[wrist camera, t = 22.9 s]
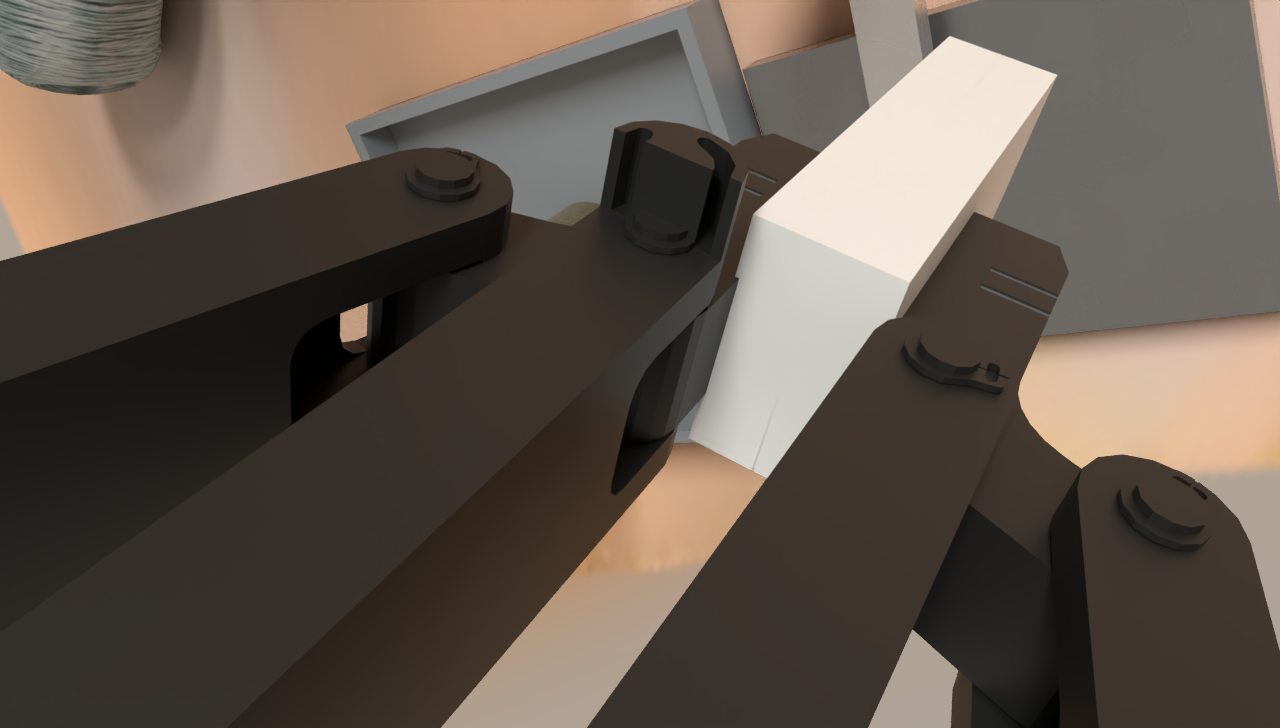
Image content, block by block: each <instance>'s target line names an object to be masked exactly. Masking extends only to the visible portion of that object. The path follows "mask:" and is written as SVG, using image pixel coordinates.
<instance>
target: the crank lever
mask: <svg viewBox="0 0 1280 728" xmlns="http://www.w3.org/2000/svg"><path fill="white" fill-rule="evenodd" d="M849 2H850V8H851V13H852V18H853V23H854V28H855V34H856V39H857V44H858V49H859V55H860V60H861V65H862V70H863V75H864V81H865V86H866V91H867V96H868V102H869V107H870V108H871V107H872V106H873V105H874V104H875V103H876V102H877V101H878V100H880V99H881V98H882V97H883V96H884V95H885V94H886V93H887V92H888V91H889V90H891V89H892V88H893V87H894V86H895V85H896V84H897V83H898V82H899V81H900V80H902V79H903V78H904V77H905V76H906V75H907V74H908V73H909V72H910V71H912V70H913V69H914V68H915V67H916V66H917V65H918V64H919V63H920V62H921V61H923V60H924V59H925V58H926V57H927V56H928V55H929V54H930V53H931V52H932V51H934V50H933V44H932V38H931V32H930V26H929V20H928V14H927V8H926V2H925V0H849Z"/></svg>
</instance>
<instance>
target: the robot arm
mask: <svg viewBox="0 0 1280 728" xmlns="http://www.w3.org/2000/svg"><path fill="white" fill-rule="evenodd" d="M1056 77H1057V75H1056V74H1053V73H1051V72H1048V71H1045V70H1042V69H1040V68H1037V67H1034V66H1031V65H1028V64H1026V63H1023V62H1020V61H1017V60H1015V59H1012V58H1009V57H1006V56H1004V55H1001V54H998V53H995V52H992V51H990V50H987V49H984V48H981V47H979V46H976V45H973V44H970V43H968V42H965V41H962V40H959V39H957V38H954V37H951V36H949V37H948V38H947V39H946V40H945V41H944V42H942V43H941V44H940V45H939V46H938V47H937V48H936V49H935V50H934V51H932V52H931V53H930V54H929V55H928V56H927V57H926V58H925V59H924V60H923V61H921V62H920V63H919V64H918V65H917V66H916V67H915V68H914V69H913V70H912V71H910V72H909V73H908V74H907V75H906V76H905V77H904V78H903V79H902V80H900V81H899V82H898V83H897V84H896V85H895V86H894V87H893V88H892V89H891V90H889V91H888V92H887V93H886V94H885V95H884V96H883V97H882V98H881V99H880V100H878V101H877V102H876V103H875V104H874V105H873V106H872V107H871V108H870V109H868V110H867V111H866V112H865V113H864V114H863V115H862V116H861V117H860V118H859V119H857V120H856V121H855V122H854V123H853V124H852V125H851V126H850V127H849V128H848V129H846V130H845V131H844V132H843V133H842V134H841V135H840V136H839V137H838V138H836V139H835V140H834V141H833V142H832V143H831V144H830V145H829V146H828V147H827V148H825V149H824V150H823V151H822V152H818V151H816V150H814V149H811V148H809V147H806V146H804V145H801V144H799V143H796V142H794V141H792V140H789V139H787V138H784V137H782V136H779V135H777V134H775V133H773V134H769V135H764V136H760V137H755V138H750V139H746V140H741V141H740V142H739V143H737V144H736V145H735V146H732V145H731V144H730V143H728V142H726V141H725V140H723V139H721V138H719V137H717V136H715V135H713V134H712V133H710V132H707V131H704V130H701V129H698V128H694V127H691V126H688V125H685V124H680V123H672V122H665V121H658V120H653V121H636V122H630V123H627V124H624V125H622V126H619V127H616V128H614V132H613V138H612V143H611V149H610V154H609V159H608V165H607V170H606V176H605V181H604V186H603V192H602V197H601V203H600V206H599V207H598V208H596V209H595V210H594V211H592V212H591V213H589V214H588V215H587V216H585V217H584V218H582V219H581V220H580V221H578V222H577V223H575V224H574V225H573V226H569V225H564V224H558V223H553V222H549V221H545V220H541V219H537V218H533V217H529V216H525V215H521V214H517V213H513V212H511V208H512V200H513V193H514V191H513V187H512V183H511V180H510V177H509V176H508V175H507V174H506V173H505V172H503V171H502V170H501V169H500V168H499V167H498V166H497V165H496V164H494V163H492V162H489V161H487V160H485V159H483V158H481V157H479V156H477V155H476V154H473V153H470V152H467V151H464V152H462V151H461V150H460V149H455V148H450V147H445V148H427V147H424V148H417V149H411V150H404V151H399V152H395V153H391V154H388V155H384V156H381V157H377V158H373V159H370V160H366V161H362V162H359V163H355V164H351V165H348V166H344V167H341V168H337V169H333V170H330V171H326V172H322V173H319V174H315V175H312V176H308V177H304V178H301V179H297V180H293V181H290V182H286V183H282V184H279V185H275V186H272V187H268V188H264V189H261V190H257V191H253V192H250V193H246V194H243V195H239V196H235V197H232V198H228V199H224V200H221V201H217V202H213V203H210V204H206V205H203V206H199V207H195V208H192V209H188V210H184V211H181V212H177V213H174V214H170V215H166V216H163V217H159V218H155V219H152V220H148V221H144V222H141V223H137V224H134V225H130V226H126V227H123V228H119V229H115V230H112V231H108V232H105V233H101V234H97V235H94V236H90V237H86V238H83V239H79V240H75V241H72V242H68V243H65V244H61V245H57V246H54V247H50V248H46V249H43V250H39V251H36V252H32V253H28V254H25V255H21V256H17V257H14V258H10V259H6V260H3V261H0V728H441V727H442V725H443V724H444V723H445V722H446V721H447V720H448V718H449V717H450V716H451V715H452V714H453V712H454V711H455V710H456V709H457V708H458V707H459V706H460V704H461V703H462V702H463V701H464V700H465V699H466V697H467V696H468V695H469V694H470V693H471V692H472V690H473V689H474V688H475V687H476V686H477V684H478V683H479V682H480V681H481V680H482V679H483V677H484V676H485V675H486V674H487V672H489V670H490V669H491V668H492V667H493V666H494V664H495V663H496V662H497V661H498V660H499V659H500V658H501V656H502V655H503V654H504V653H505V652H506V650H507V649H508V648H509V647H510V646H511V645H512V643H513V642H514V641H515V640H516V639H517V637H518V636H519V635H520V634H521V633H522V632H523V631H524V629H525V628H526V627H527V626H528V625H529V624H530V622H531V621H532V620H533V619H534V618H535V616H536V615H537V614H538V613H539V612H540V611H541V609H542V608H543V607H544V606H545V605H546V604H547V602H548V601H549V600H550V599H551V598H552V597H553V595H554V594H555V593H556V592H557V591H558V590H559V588H560V587H561V586H562V585H563V584H564V582H565V581H566V580H567V579H568V578H569V577H570V575H571V574H572V573H573V572H574V571H575V570H576V568H577V567H578V566H579V565H580V564H581V563H582V561H583V560H584V559H585V558H586V557H587V556H588V554H589V553H590V552H591V551H592V550H593V549H594V547H595V546H596V545H597V544H598V543H599V542H600V540H601V539H602V538H603V537H604V536H605V534H606V533H607V532H608V531H609V530H610V529H611V527H612V526H613V525H614V524H615V523H616V522H617V520H618V519H619V518H620V517H621V516H622V515H623V513H624V512H625V511H626V510H627V509H628V508H629V506H630V505H631V504H632V503H633V502H634V500H635V499H636V498H637V497H638V496H639V495H640V493H641V492H642V491H643V490H644V489H645V488H646V486H647V485H648V484H649V483H650V482H651V481H652V479H653V478H654V477H655V476H656V475H657V474H658V472H659V471H660V470H661V469H662V468H663V467H664V465H665V463H666V461H667V459H668V457H669V455H670V452H671V450H672V447H673V443H674V439H675V436H676V432H677V429H678V425H679V423H680V422H681V421H682V420H683V419H684V418H685V417H686V415H687V414H688V413H689V412H690V411H691V410H692V409H693V408H694V406H695V405H696V404H697V403H698V402H699V404H698V407H697V411H696V414H695V417H694V421H693V424H692V428H691V431H690V435H689V439H691V440H693V441H695V442H697V443H699V444H701V445H703V446H705V447H707V448H709V449H711V450H713V451H715V452H717V453H718V454H720V455H722V456H724V457H726V458H728V459H730V460H732V461H734V462H736V463H738V464H740V465H742V466H744V467H746V468H748V469H750V470H751V471H753V472H755V473H757V474H759V475H761V476H763V477H765V478H767V479H766V480H765V482H764V483H763V485H762V486H761V487H760V489H759V490H758V492H757V493H756V494H755V496H754V497H753V499H752V500H751V501H750V503H749V504H748V505H747V507H746V508H745V510H744V511H743V512H742V514H741V515H740V517H739V518H738V519H737V521H736V522H735V523H734V525H733V526H732V528H731V529H730V530H729V532H728V533H727V535H726V536H725V537H724V539H723V540H722V541H721V543H720V544H719V546H718V547H717V548H716V550H715V551H714V553H713V554H712V555H711V557H710V558H709V559H708V561H707V562H706V564H705V565H704V566H703V568H702V569H701V571H700V572H699V573H698V575H697V576H696V577H695V579H694V580H693V582H692V583H691V584H690V586H689V587H688V589H687V590H686V591H685V593H684V594H683V595H682V597H681V598H680V600H679V601H678V602H677V604H676V605H675V607H674V608H673V609H672V611H671V612H670V614H669V615H668V616H667V618H666V619H665V621H664V622H663V623H662V625H661V626H660V627H659V629H658V630H657V632H656V633H655V634H654V636H653V637H652V639H651V640H650V641H649V643H648V644H647V646H646V647H645V648H644V650H643V651H642V652H641V654H640V655H639V656H638V658H637V659H636V661H635V662H634V664H633V665H632V666H631V668H630V669H629V670H628V672H627V673H626V675H625V676H624V678H623V679H622V680H621V681H620V683H619V684H618V686H617V687H616V688H615V690H614V691H613V693H612V694H611V695H610V697H609V698H608V699H607V701H606V702H605V704H604V705H603V706H602V708H601V709H600V711H599V712H598V713H597V715H596V716H595V717H594V719H593V720H592V722H591V723H590V724H589V726H588V727H587V728H868V726H869V724H870V722H871V720H872V718H873V715H874V713H875V711H876V709H877V706H878V704H879V702H880V700H881V698H882V695H883V693H884V691H885V688H886V686H887V684H888V682H889V680H890V678H891V675H892V673H893V671H894V669H895V667H896V664H897V662H898V660H899V658H900V655H901V653H902V651H903V649H904V646H905V644H906V642H907V640H908V638H909V635H910V633H911V631H912V629H913V630H914V631H915V632H916V633H918V634H919V635H920V636H921V637H922V638H923V639H924V640H926V642H928V643H929V644H930V645H931V646H932V647H933V648H934V649H935V650H936V651H938V652H939V653H940V654H941V655H942V656H943V657H944V658H945V659H946V660H948V661H949V662H950V663H951V664H952V665H953V666H954V667H955V668H957V669H958V670H959V671H958V674H957V677H956V680H955V683H954V687H953V694H952V717H951V728H1280V650H1279V647H1278V643H1277V640H1276V635H1275V632H1274V628H1273V624H1272V621H1271V617H1270V614H1269V610H1268V606H1267V602H1266V599H1265V595H1264V591H1263V587H1262V584H1261V580H1260V576H1259V573H1258V569H1257V565H1256V561H1255V558H1254V554H1253V551H1252V547H1251V543H1250V541H1249V539H1248V537H1247V535H1246V533H1245V531H1244V529H1243V527H1242V525H1241V524H1240V521H1239V519H1238V518H1237V517H1236V516H1235V515H1234V514H1233V513H1232V512H1231V511H1230V510H1229V509H1228V508H1227V507H1226V505H1225V504H1224V503H1223V502H1222V501H1221V500H1220V499H1219V498H1218V497H1217V496H1216V495H1215V494H1214V493H1212V492H1211V491H1210V490H1208V489H1207V488H1206V487H1204V486H1203V485H1202V484H1200V483H1197V482H1196V481H1195V479H1193V478H1191V477H1189V476H1188V475H1186V474H1184V473H1182V472H1180V471H1178V470H1174V469H1172V468H1170V467H1167V466H1165V465H1163V464H1160V463H1158V462H1156V461H1153V460H1148V459H1143V458H1138V457H1133V456H1128V455H1114V456H1105V457H1098V458H1096V459H1095V460H1093V461H1092V462H1090V463H1089V464H1088V465H1086V466H1085V467H1083V468H1082V469H1081V468H1079V467H1078V466H1077V465H1075V464H1074V463H1072V462H1071V461H1070V460H1068V459H1067V458H1066V457H1064V456H1063V455H1062V454H1060V453H1059V452H1058V451H1057V450H1055V449H1054V448H1053V447H1052V446H1051V445H1049V444H1048V443H1047V442H1046V441H1045V440H1044V439H1043V438H1042V437H1041V436H1040V435H1039V434H1038V433H1037V431H1036V430H1035V429H1034V428H1033V427H1032V426H1031V425H1030V423H1029V421H1028V420H1027V418H1026V416H1025V414H1024V412H1023V411H1022V409H1021V405H1020V401H1019V397H1018V391H1019V385H1020V381H1021V379H1022V376H1023V374H1024V372H1025V370H1026V368H1027V365H1028V363H1029V361H1030V359H1031V356H1032V354H1033V352H1034V350H1035V348H1036V345H1037V343H1038V341H1039V339H1040V336H1041V334H1042V332H1043V330H1044V328H1045V325H1046V323H1047V321H1048V319H1049V316H1050V314H1051V312H1052V310H1053V307H1054V305H1055V303H1056V301H1057V298H1058V296H1059V294H1060V292H1061V290H1062V287H1063V285H1064V283H1065V281H1066V279H1067V276H1068V274H1069V272H1068V269H1067V266H1066V263H1065V261H1064V258H1063V255H1062V252H1061V250H1060V247H1059V246H1057V245H1055V244H1052V243H1050V242H1047V241H1045V240H1042V239H1040V238H1037V237H1035V236H1033V235H1030V234H1028V233H1025V232H1023V231H1020V230H1018V229H1015V228H1013V227H1011V226H1008V225H1006V224H1003V223H1001V222H998V221H996V220H993V217H994V215H995V213H996V210H997V208H998V206H999V204H1000V202H1001V199H1002V197H1003V195H1004V193H1005V190H1006V188H1007V186H1008V184H1009V182H1010V179H1011V177H1012V175H1013V173H1014V170H1015V168H1016V166H1017V164H1018V162H1019V159H1020V157H1021V155H1022V153H1023V150H1024V148H1025V146H1026V144H1027V142H1028V139H1029V137H1030V135H1031V133H1032V130H1033V128H1034V126H1035V124H1036V122H1037V119H1038V117H1039V115H1040V113H1041V110H1042V108H1043V106H1044V104H1045V102H1046V99H1047V97H1048V95H1049V93H1050V90H1051V88H1052V86H1053V84H1054V82H1055V79H1056ZM366 303H368V319H367V336H365V337H363V338H361V339H358V340H356V341H349V342H343V343H342V342H341V338H340V313H343V312H345V311H348V310H351V309H353V308H356V307H359V306H361V305H364V304H366Z"/></svg>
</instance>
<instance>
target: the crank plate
mask: <svg viewBox="0 0 1280 728" xmlns="http://www.w3.org/2000/svg"><path fill="white" fill-rule="evenodd" d="M927 14H928V20H929V26H930V32H931V38H932V44H933V50H935V49H936V48H937V47H938V46H939V45H940V44H941V43H942V42H944V41H945V40H946V39H947V38H948V37H949V36H951V37H954V38H957V39H959V40H962V41H965V42H968V43H970V44H973V45H976V46H979V47H981V48H984V49H987V50H990V51H992V52H995V53H998V54H1001V55H1004V56H1006V57H1009V58H1012V59H1015V60H1017V61H1020V62H1023V63H1026V64H1028V65H1031V66H1034V67H1037V68H1040V69H1042V70H1045V71H1048V72H1051V73H1053V74H1056V75H1057V77H1056V79H1055V82H1054V84H1053V86H1052V88H1051V90H1050V93H1049V95H1048V97H1047V99H1046V102H1045V104H1044V106H1043V108H1042V110H1041V113H1040V115H1039V117H1038V119H1037V122H1036V124H1035V126H1034V128H1033V130H1032V133H1031V135H1030V137H1029V139H1028V142H1027V144H1026V146H1025V148H1024V150H1023V153H1022V155H1021V157H1020V159H1019V162H1018V164H1017V166H1016V168H1015V170H1014V173H1013V175H1012V177H1011V179H1010V182H1009V184H1008V186H1007V188H1006V190H1005V193H1004V195H1003V197H1002V199H1001V202H1000V204H999V206H998V208H997V210H996V213H995V215H994V217H993V220H996V221H998V222H1001V223H1003V224H1006V225H1008V226H1011V227H1013V228H1015V229H1018V230H1020V231H1023V232H1025V233H1028V234H1030V235H1033V236H1035V237H1037V238H1040V239H1042V240H1045V241H1047V242H1050V243H1052V244H1055V245H1057V246H1059V247H1060V250H1061V252H1062V255H1063V258H1064V261H1065V263H1066V266H1067V269H1068V272H1069V274H1068V276H1067V279H1066V281H1065V283H1064V285H1063V287H1062V290H1061V292H1060V294H1059V296H1058V298H1057V301H1056V303H1055V305H1054V307H1053V310H1052V312H1051V314H1050V316H1049V319H1048V321H1047V323H1046V325H1045V328H1044V330H1043V332H1042V334H1041V336H1048V335H1058V334H1067V333H1077V332H1086V331H1096V330H1105V329H1115V328H1125V327H1134V326H1144V325H1153V324H1163V323H1172V322H1182V321H1192V320H1201V319H1211V318H1220V317H1230V316H1239V315H1249V314H1259V313H1268V312H1278V311H1280V177H1279V171H1278V164H1277V157H1276V151H1275V144H1274V137H1273V131H1272V124H1271V117H1270V111H1269V104H1268V97H1267V91H1266V84H1265V77H1264V71H1263V64H1262V57H1261V51H1260V44H1259V37H1258V31H1257V24H1256V17H1255V11H1254V4H1253V0H961V1H957V2H954V3H951V4H947V5H944V6H941V7H937V8H934V9H930V10H927ZM743 73H744V76H745V79H746V83H747V86H748V89H749V92H750V95H751V98H752V101H753V104H754V108H755V111H756V114H757V117H758V120H759V123H760V126H761V130H762V133H763V136H764V135H769V134H773V133H775V134H777V135H779V136H782V137H784V138H787V139H789V140H792V141H794V142H796V143H799V144H801V145H804V146H806V147H809V148H811V149H814V150H816V151H818V152H822V151H823V150H824V149H825V148H827V147H828V146H829V145H830V144H831V143H832V142H833V141H834V140H835V139H836V138H838V137H839V136H840V135H841V134H842V133H843V132H844V131H845V130H846V129H848V128H849V127H850V126H851V125H852V124H853V123H854V122H855V121H856V120H857V119H859V118H860V117H861V116H862V115H863V114H864V113H865V112H866V111H867V110H868V109H870V107H869V102H868V96H867V91H866V86H865V81H864V75H863V70H862V65H861V60H860V55H859V49H858V44H857V39H856V34H855V32H853V33H850V34H846V35H843V36H840V37H836V38H833V39H829V40H826V41H823V42H819V43H816V44H813V45H809V46H806V47H802V48H799V49H796V50H792V51H789V52H786V53H782V54H779V55H776V56H772V57H769V58H765V59H762V60H759V61H755V62H754V63H752V64H751V65H749V66H748V67H746V68H745V69H743Z"/></svg>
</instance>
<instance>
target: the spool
mask: <svg viewBox="0 0 1280 728" xmlns="http://www.w3.org/2000/svg"><path fill="white" fill-rule="evenodd" d="M162 8H163V0H0V69H1V70H2V71H4V72H5V73H7V74H8V75H10V76H11V77H13V78H14V79H16V80H18V81H20V82H21V83H23V84H25V85H27V86H31V87H35V88H39V89H43V90H47V91H52V92H56V93H64V94H77V95H91V94H102V93H108V92H115V91H119V90H122V89H126V88H129V87H132V86H135V85H137V84H138V83H140V82H141V81H143V80H144V79H145V78H146V77H148V75H149V74H150V73H151V72H152V71H153V70H154V68H155V66H156V64H157V61H158V59H159V56H160V53H161V50H162V42H161V39H160V33H161V16H162Z"/></svg>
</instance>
